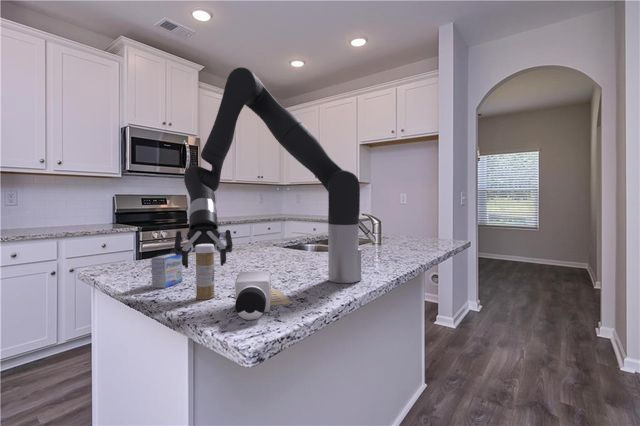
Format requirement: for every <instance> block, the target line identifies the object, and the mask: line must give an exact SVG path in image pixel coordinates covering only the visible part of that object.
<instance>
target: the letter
mask: <svg viewBox="0 0 640 426" xmlns="http://www.w3.org/2000/svg"><path fill="white" fill-rule="evenodd" d="M233 297H234V298H235V299H236V295H235V293H233ZM290 304H291V305H292V304H293V303H292V301H291V300H290V298H288V296H287V295H285V294H284V293H283V292H282V291H281V289H271V300H270V307H274V306H275V307H276V306H282V305H290Z"/></svg>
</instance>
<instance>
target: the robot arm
mask: <svg viewBox="0 0 640 426" xmlns="http://www.w3.org/2000/svg"><path fill="white" fill-rule="evenodd" d="M223 89H224V90H223V94H222V98H221V101H220V105H219V108H218V111H217V113H216V117H215V120H214V123H213V126H212V128H211V131H210V133H209V135H208V137H207V139H206V141H205V143H204V146H203V148H202V150H201V153H200V157H201V159H202V160H203V161H205V162H206V163H208V164H209V165H211V170H210V169H208V168H204V167H202V166H200V165H196V164H195V165H194V164H193V165H191V166H188V168H186V170H185V172H184V175H183V182H184V186H185V188H186V190H187V193H188V195H189V198H190V200H189V202H190V203H189V204H190V205H189V210H188V211H189V214H188V220H189V221H188V232H187V233H182V231H176V234H175V241H174V254H176V255H179V254H180V255H182V267H184V268H185V269H187V268H189V254H190V253H191V252H193V251H195V246H196V245H199V244H213V245H214V251H217V252H218V253H219V259H220V260H219V261H220V266H221V267H222V266H224V265H225V264H226V263H227V253H232V252H233V246H234V245H233V240H232V234H231V230H229V229H226V230H225V232H224V231H223V232H220V230H219V224H218V210H217V205H216V195H215V192H216V191H217V190H218V189H219V187H220V183H221V175H222V169H223V165H224V161H225V160H226V157H227V155H228V153H229V151H230V149H231V146H232V144H233V139H234V136H235V130H236V127H237V122H238V119H239V117H240V114H241V112H242V110H243V108H244V106H246V107H247V108H249V109H250V110H251V111H253V113H255V115H257V117H259V118H260V119H261V120H262V122H263V123H264V124H265V125H266V128H267V129H268V130H269V132H270V133H271V134H272V136H273V137H274V139H275V140H276V141H277V142H278V143H279V145H281V146H282V147H283V149H285V150H286V151H287V153H289V154H290V156H291V157H293V158H294V159H295V160H296V161H297V162H298V163H300V164H301V165H302V166H303V167H304V168H306V169H307V170H308V171H310V173H312V174H313V175H314V176H315V177H316V178H317V180H318V181H319V183H321V185H322V186H323V187H324V188H325V189H326V191H327V193H328V194H327V195H328V197H327V198H328V199H327V201H328V202H327V203H328V206H327V207H328V210H327V211H328V212H327V213H328V214H327V215H328V216H327V221H328V222H327V224H328V225H327V227H328V228H327V229H328V234H327V235H328V237H327V238H328V239H327V241H328V242H327V243H328V246H327V247H328V249H327V250H328V251H327V252H328V253H327V255H328V269H327V270H328V272H327V275H328V278H327V279H328V281H329V282H332V283H336V284H352V283H357V282H359V281H362V249H361V248H359V245H360V244H359V242H360V241H359V238H360V236H359V232H360V231H359V228H360V227H359V226H360V225H359V221H360V220H359V219H360V218H359V217H360V210H361V209H360V206H361V205H360V204H361V203H360V202H361V199H360V198H361V194H360V193H361V188H360V182H359V179H358V177H357V175H356V174H354V173H353V172H352V171H350V170H346V169H345V170H344V169H343V168H342V167H341V166H339V165H338V164H337V163H336V162H335V161H334V160H333V159H332V158H331V157H330V156H329V155H328V153H327V152H326V150H325V149H324V148H323V146H322V145H321V143H320V142H319V140H318V139H317V138H316V136H315V135H314V134H313V133H312V131H310V129H309V128H308V127H307V126H306V125H305V124H304V123H303V122H302V121H301V120H300V119H298V117H297V116H295V114H293V113H292V112H291V111H289V110H288V109H286V108H285V107H284V106H283V105H281V103H279V102H278V101H277V100H276V98H275V97H274V96H273V95H272V94H271V93H270V92H269V90H268V89H267V88H266V87H265V85H264V83H263V82H262V81H261V80H260V78H259V77H258V76H257V75H256V74H255V73H254V72H253V71H251V70H250V68H249V69H248V68H246V67H237V68H234V69H232V70H231V71H230V73H229V74H228V77H227V79H226V82H225V86H224V88H223ZM221 238H222V240H223V241H225V243H226V245H225V244H224V243H223V242H221ZM186 239H187V240H188V241H187V242H186V244H185V245H184V246H183V247H182V243H183V242H184V241H185V240H186Z"/></svg>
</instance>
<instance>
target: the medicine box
mask: <svg viewBox="0 0 640 426" xmlns="http://www.w3.org/2000/svg"><path fill="white" fill-rule="evenodd" d="M150 260H151V261H150V262H151V263H150V264H151V286H152V289H153V288H154V289H168V288H170V287H173V286H176V285H178V284H180V283H182V282H183V265H182V255H180V254H179V255H176V254H175V253H168V254H163V255H158V256H154V257H151V259H150Z"/></svg>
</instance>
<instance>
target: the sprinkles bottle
mask: <svg viewBox="0 0 640 426" xmlns="http://www.w3.org/2000/svg"><path fill="white" fill-rule="evenodd" d="M194 252H195V286H196V288H195V289H196V291H195V292H196V295H195V298H196V299H197V300H201V301H202V300H203V301H204V300H205V301H206V300H211V299H214V297H216V294H215V249H214V245H213V244H199V245H196V246H195V249H194Z"/></svg>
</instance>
